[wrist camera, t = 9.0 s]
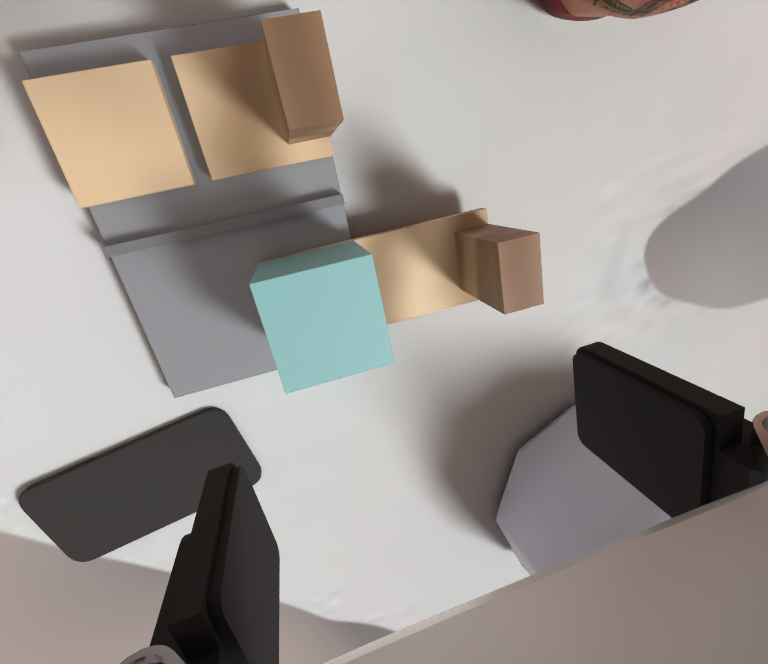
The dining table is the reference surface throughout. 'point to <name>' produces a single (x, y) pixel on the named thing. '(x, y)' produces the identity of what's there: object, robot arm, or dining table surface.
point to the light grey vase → (567, 500)
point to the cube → (322, 314)
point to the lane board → (177, 196)
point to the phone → (136, 485)
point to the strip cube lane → (453, 265)
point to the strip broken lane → (263, 98)
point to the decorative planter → (608, 8)
